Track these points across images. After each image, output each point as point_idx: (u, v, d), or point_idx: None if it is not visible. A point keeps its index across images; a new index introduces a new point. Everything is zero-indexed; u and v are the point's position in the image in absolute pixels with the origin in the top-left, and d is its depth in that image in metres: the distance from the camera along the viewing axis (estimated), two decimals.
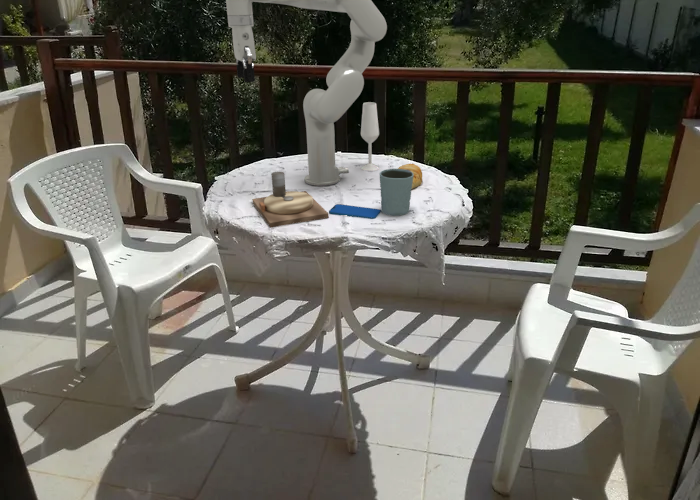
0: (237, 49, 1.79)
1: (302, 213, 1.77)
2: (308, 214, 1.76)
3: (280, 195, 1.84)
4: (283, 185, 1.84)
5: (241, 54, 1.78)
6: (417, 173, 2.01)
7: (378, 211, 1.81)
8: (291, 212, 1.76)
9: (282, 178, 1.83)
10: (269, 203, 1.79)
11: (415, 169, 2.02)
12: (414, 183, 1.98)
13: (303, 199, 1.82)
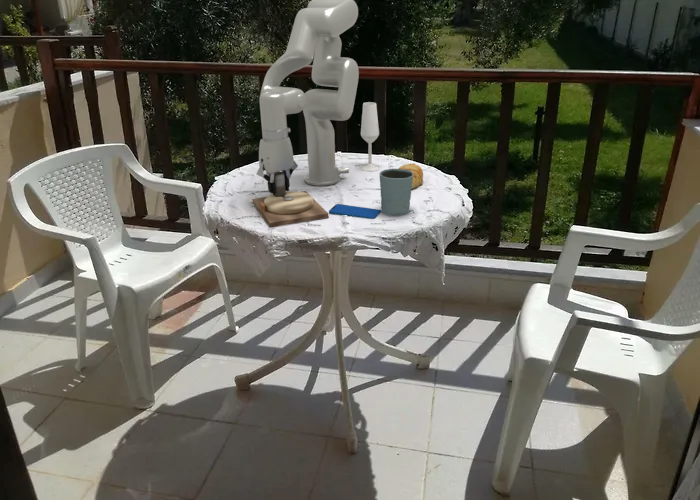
0: (287, 159, 1.81)
1: (302, 213, 1.77)
2: (308, 214, 1.76)
3: (280, 195, 1.84)
4: (283, 185, 1.84)
5: (293, 161, 1.83)
6: (417, 173, 2.01)
7: (378, 211, 1.81)
8: (291, 212, 1.76)
9: (282, 178, 1.83)
10: (269, 203, 1.79)
11: (416, 169, 2.02)
12: (414, 183, 1.98)
13: (303, 199, 1.82)
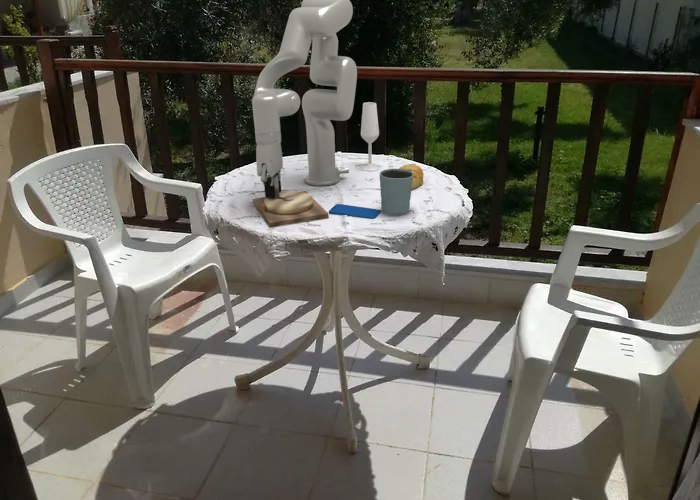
0: (280, 159, 1.81)
1: (302, 213, 1.77)
2: (308, 214, 1.76)
3: (277, 197, 1.83)
4: (278, 186, 1.83)
5: None
6: (418, 173, 2.01)
7: (378, 211, 1.81)
8: (303, 210, 1.78)
9: (277, 179, 1.82)
10: (276, 206, 1.77)
11: (416, 169, 2.01)
12: (414, 183, 1.98)
13: (302, 196, 1.84)
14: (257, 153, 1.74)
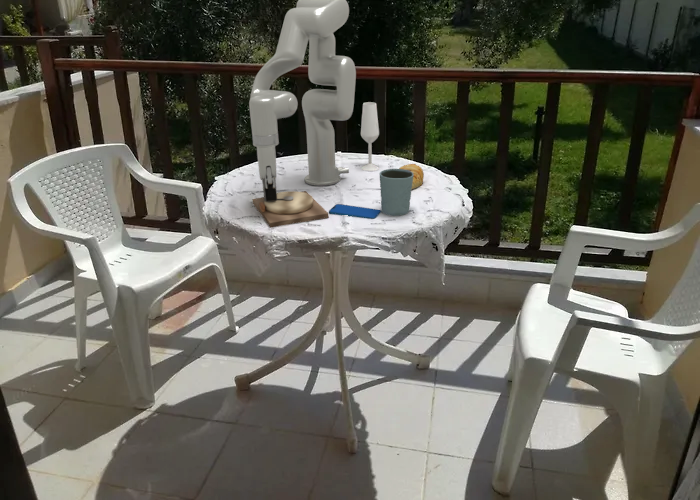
0: None
1: (302, 213, 1.77)
2: (308, 214, 1.76)
3: None
4: None
5: None
6: (418, 173, 2.01)
7: (378, 211, 1.81)
8: (310, 206, 1.80)
9: (275, 181, 1.80)
10: (285, 206, 1.77)
11: (416, 169, 2.01)
12: (414, 183, 1.98)
13: (298, 195, 1.86)
14: (261, 156, 1.71)
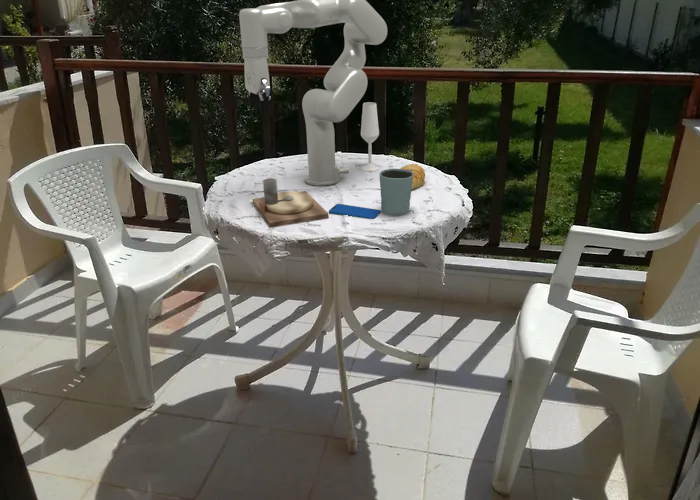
0: None
1: (302, 213, 1.77)
2: (308, 214, 1.76)
3: (278, 200, 1.80)
4: None
5: None
6: (419, 174, 2.01)
7: (378, 212, 1.80)
8: None
9: None
10: (293, 206, 1.77)
11: (417, 170, 2.01)
12: (415, 184, 1.98)
13: (293, 194, 1.86)
14: (256, 68, 1.73)
